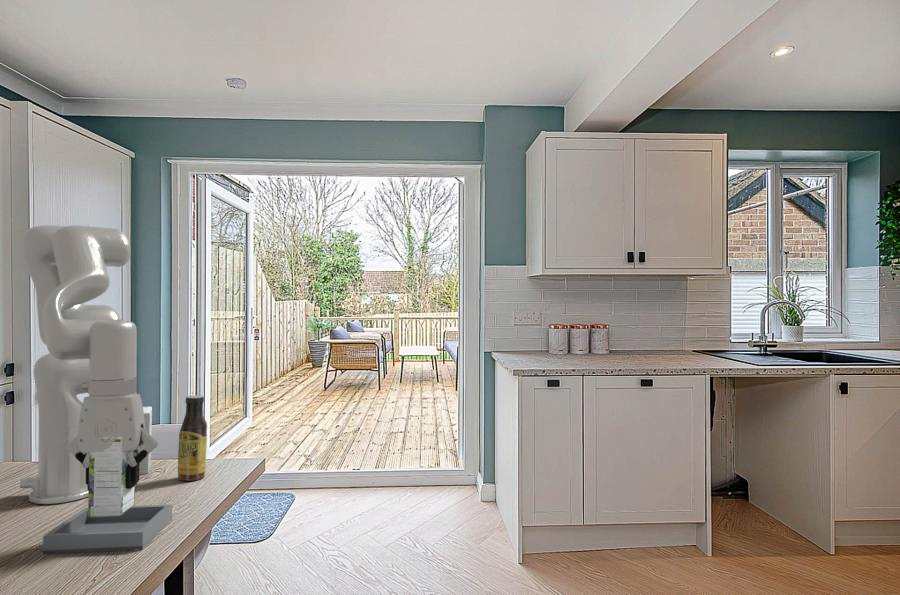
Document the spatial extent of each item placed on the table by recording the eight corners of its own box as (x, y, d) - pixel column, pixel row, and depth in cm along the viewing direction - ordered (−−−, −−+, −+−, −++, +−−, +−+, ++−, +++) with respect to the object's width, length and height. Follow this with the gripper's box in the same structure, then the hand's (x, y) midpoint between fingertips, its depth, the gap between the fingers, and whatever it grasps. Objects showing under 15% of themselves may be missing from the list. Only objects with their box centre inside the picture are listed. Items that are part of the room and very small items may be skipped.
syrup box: (103, 506, 109) (104, 428, 109) (136, 505, 110) (137, 428, 110) (87, 517, 104) (87, 435, 104) (122, 516, 104) (122, 434, 104)
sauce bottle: (171, 481, 139) (172, 397, 140) (189, 473, 146) (189, 393, 146) (196, 483, 138) (196, 398, 138) (212, 475, 144) (212, 394, 144)
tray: (42, 554, 99) (43, 536, 99) (85, 523, 113) (85, 507, 113) (142, 549, 101) (142, 532, 101) (172, 519, 115) (172, 504, 115)
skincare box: (123, 468, 151) (124, 407, 151) (152, 465, 153) (153, 406, 153) (119, 477, 143) (120, 413, 143) (150, 474, 145) (150, 411, 146)
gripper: (51, 392, 102) (50, 496, 102) (154, 390, 104) (154, 492, 104) (73, 386, 110) (73, 483, 110) (170, 384, 112) (169, 479, 111)
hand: (112, 486), depth 107 cm, fingers closed on syrup box, 5 cm apart
